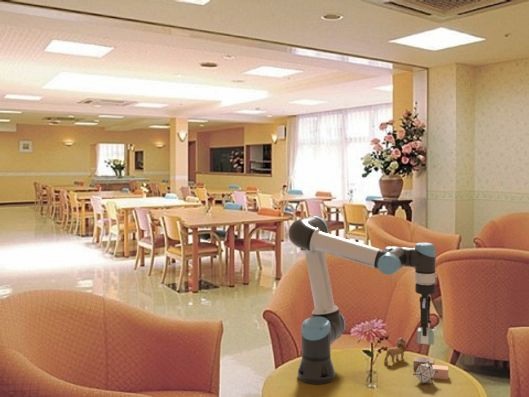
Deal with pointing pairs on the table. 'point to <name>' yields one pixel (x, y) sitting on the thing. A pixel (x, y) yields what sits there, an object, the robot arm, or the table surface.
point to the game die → (425, 373)
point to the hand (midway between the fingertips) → (425, 341)
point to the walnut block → (422, 361)
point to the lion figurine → (396, 351)
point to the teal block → (430, 336)
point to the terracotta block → (441, 371)
